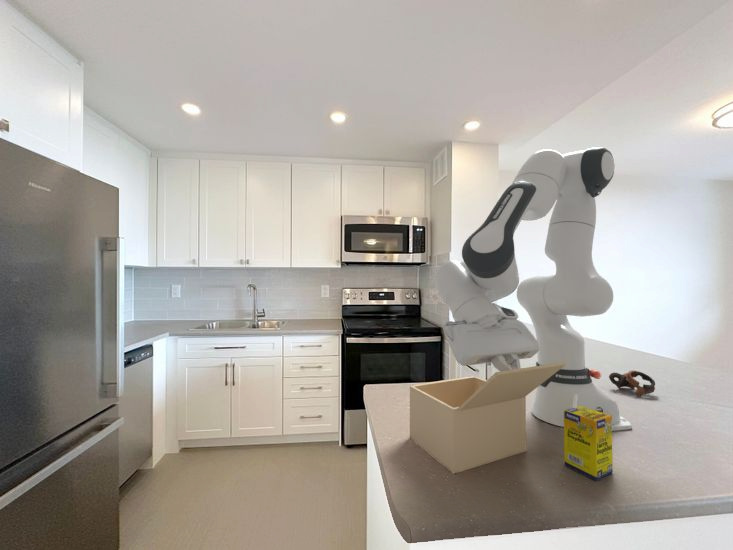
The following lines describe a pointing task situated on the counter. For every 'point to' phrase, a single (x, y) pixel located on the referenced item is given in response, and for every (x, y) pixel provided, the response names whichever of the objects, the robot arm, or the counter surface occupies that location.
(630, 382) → the brown black double loop
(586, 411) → the supplement box
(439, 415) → the carton
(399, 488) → the counter surface
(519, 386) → the carton flap
